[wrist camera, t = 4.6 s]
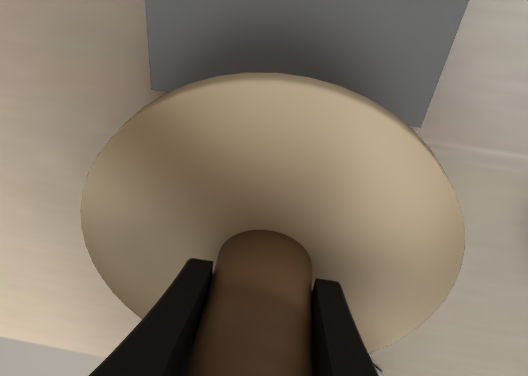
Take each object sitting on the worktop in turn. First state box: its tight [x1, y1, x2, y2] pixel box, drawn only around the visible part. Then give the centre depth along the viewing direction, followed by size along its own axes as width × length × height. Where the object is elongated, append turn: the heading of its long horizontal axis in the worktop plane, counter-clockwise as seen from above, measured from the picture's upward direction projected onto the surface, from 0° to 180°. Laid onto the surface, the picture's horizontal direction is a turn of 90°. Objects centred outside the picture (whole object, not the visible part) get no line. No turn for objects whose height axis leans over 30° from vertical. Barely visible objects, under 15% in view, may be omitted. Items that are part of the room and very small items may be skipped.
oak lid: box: [81, 73, 465, 376], centre depth 10 cm, size 11×11×5 cm
